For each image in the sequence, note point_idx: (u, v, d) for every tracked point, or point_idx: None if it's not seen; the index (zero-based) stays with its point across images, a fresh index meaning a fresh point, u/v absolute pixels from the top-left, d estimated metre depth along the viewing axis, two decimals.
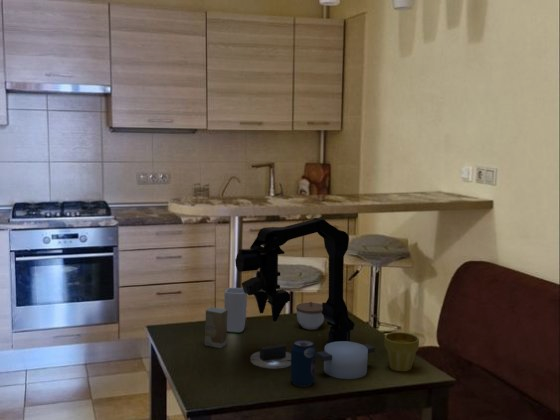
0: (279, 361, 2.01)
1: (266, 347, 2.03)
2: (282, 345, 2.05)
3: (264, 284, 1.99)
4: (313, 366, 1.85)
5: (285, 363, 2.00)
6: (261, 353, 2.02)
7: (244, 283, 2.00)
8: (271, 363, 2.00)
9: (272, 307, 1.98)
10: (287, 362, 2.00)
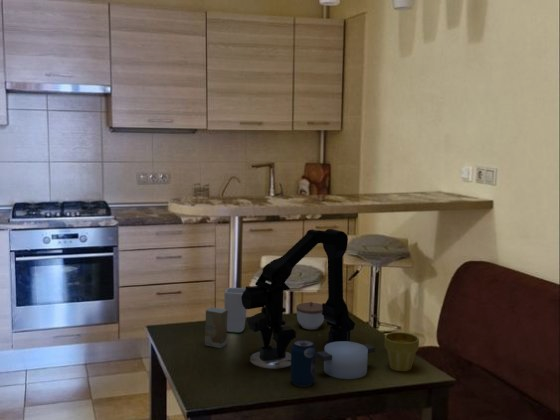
0: (279, 361, 2.01)
1: (266, 347, 2.03)
2: None
3: (269, 321, 1.99)
4: (313, 366, 1.85)
5: (285, 363, 2.00)
6: (261, 353, 2.02)
7: (249, 319, 2.00)
8: (271, 363, 2.00)
9: (277, 344, 1.98)
10: (287, 362, 2.00)
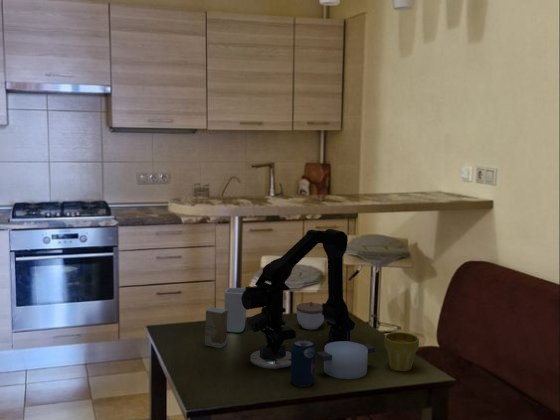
0: (279, 360, 2.01)
1: (266, 346, 2.03)
2: (282, 344, 2.05)
3: (269, 321, 1.99)
4: (313, 366, 1.85)
5: (285, 362, 1.99)
6: (261, 352, 2.02)
7: (249, 320, 2.00)
8: (271, 361, 2.00)
9: (272, 341, 2.00)
10: (288, 361, 2.00)
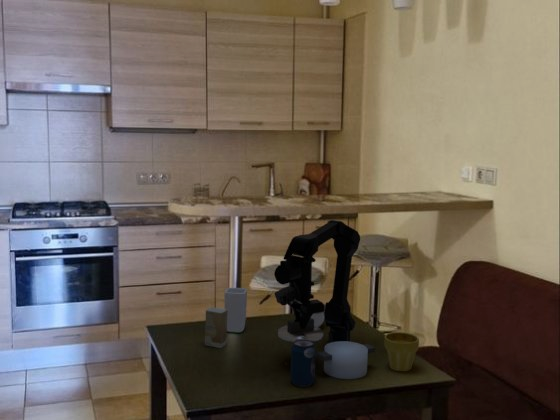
0: (307, 335, 1.97)
1: (294, 320, 1.99)
2: (310, 319, 2.01)
3: (298, 294, 1.95)
4: (313, 366, 1.85)
5: (313, 336, 1.95)
6: (289, 326, 1.98)
7: (277, 293, 1.96)
8: (299, 336, 1.96)
9: (301, 314, 1.96)
10: (316, 335, 1.96)
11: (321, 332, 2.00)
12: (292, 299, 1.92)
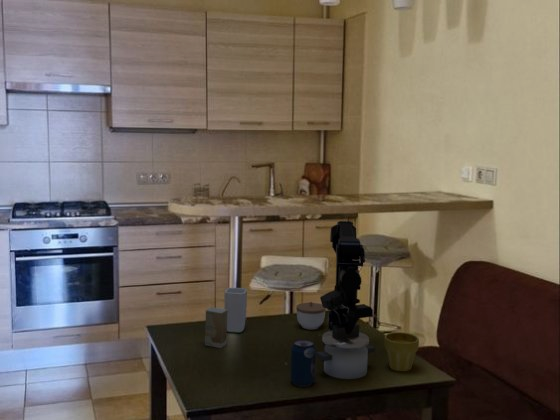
0: (353, 341, 1.92)
1: (339, 326, 1.94)
2: None
3: (344, 298, 1.90)
4: (313, 366, 1.85)
5: (360, 342, 1.91)
6: (334, 332, 1.93)
7: (323, 297, 1.91)
8: (345, 342, 1.91)
9: (347, 319, 1.92)
10: (362, 341, 1.92)
11: (367, 338, 1.95)
12: (339, 304, 1.88)
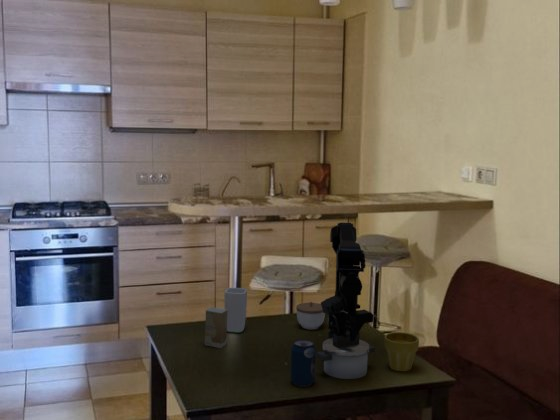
0: (354, 348, 1.93)
1: (339, 333, 1.95)
2: None
3: (345, 304, 1.90)
4: (313, 366, 1.85)
5: (361, 350, 1.91)
6: (335, 340, 1.94)
7: (324, 303, 1.91)
8: (346, 350, 1.91)
9: (351, 327, 1.91)
10: (363, 349, 1.92)
11: (367, 345, 1.95)
12: (340, 309, 1.88)
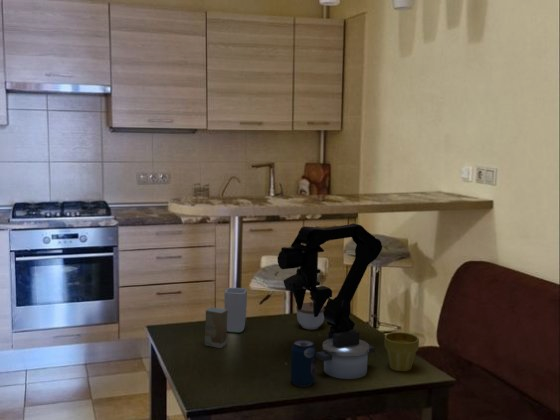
0: (354, 348, 1.93)
1: (339, 333, 1.95)
2: (355, 332, 1.97)
3: (306, 281, 2.05)
4: (313, 366, 1.85)
5: (361, 350, 1.91)
6: (335, 340, 1.94)
7: (286, 280, 2.06)
8: (346, 350, 1.91)
9: (314, 303, 2.05)
10: (363, 349, 1.92)
11: (367, 345, 1.95)
12: (301, 286, 2.03)
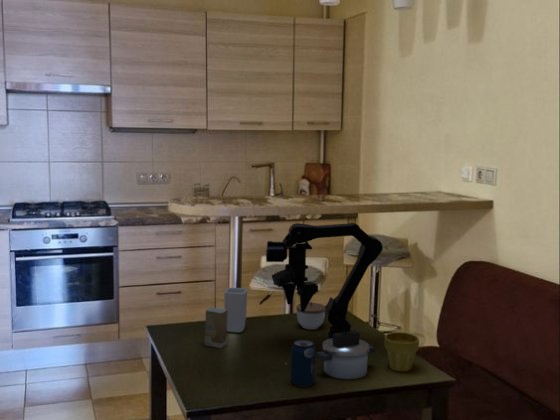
0: (354, 348, 1.93)
1: (339, 333, 1.95)
2: (355, 332, 1.97)
3: (293, 276, 2.11)
4: (313, 366, 1.85)
5: (361, 350, 1.91)
6: (335, 340, 1.94)
7: (274, 275, 2.12)
8: (346, 350, 1.91)
9: (301, 298, 2.10)
10: (363, 349, 1.92)
11: (367, 345, 1.95)
12: (288, 281, 2.09)
